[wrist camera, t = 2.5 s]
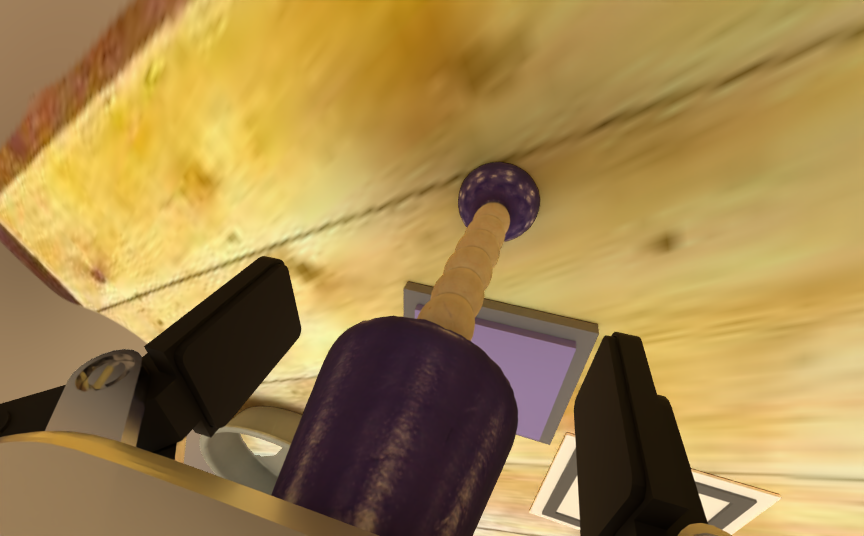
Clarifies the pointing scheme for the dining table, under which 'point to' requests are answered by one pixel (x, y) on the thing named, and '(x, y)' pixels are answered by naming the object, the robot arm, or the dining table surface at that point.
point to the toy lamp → (417, 394)
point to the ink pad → (527, 356)
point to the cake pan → (238, 460)
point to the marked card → (719, 496)
